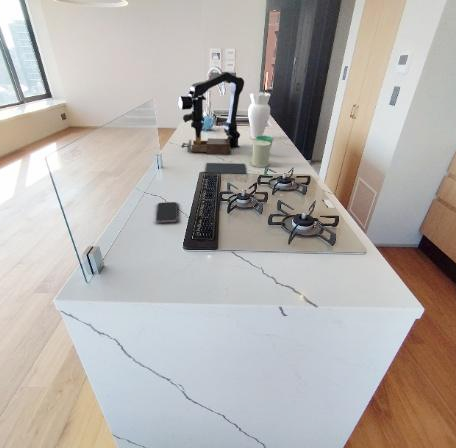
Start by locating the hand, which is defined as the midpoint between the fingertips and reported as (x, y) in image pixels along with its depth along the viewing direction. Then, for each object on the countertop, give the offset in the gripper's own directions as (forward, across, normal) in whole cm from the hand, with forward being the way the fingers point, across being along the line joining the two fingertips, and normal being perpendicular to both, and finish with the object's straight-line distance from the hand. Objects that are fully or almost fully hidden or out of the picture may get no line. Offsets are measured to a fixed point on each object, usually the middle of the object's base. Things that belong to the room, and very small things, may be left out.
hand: (198, 136), depth 168 cm
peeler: (+6, 0, 0) cm, 6 cm away
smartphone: (+9, +78, -6) cm, 79 cm away
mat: (+8, +30, +16) cm, 35 cm away
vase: (+9, -33, +38) cm, 51 cm away
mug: (+9, +3, +39) cm, 40 cm away
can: (+9, +22, +35) cm, 42 cm away
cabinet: (+8, 0, +12) cm, 15 cm away
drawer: (+8, 0, -2) cm, 8 cm away
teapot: (+9, -56, +1) cm, 56 cm away
